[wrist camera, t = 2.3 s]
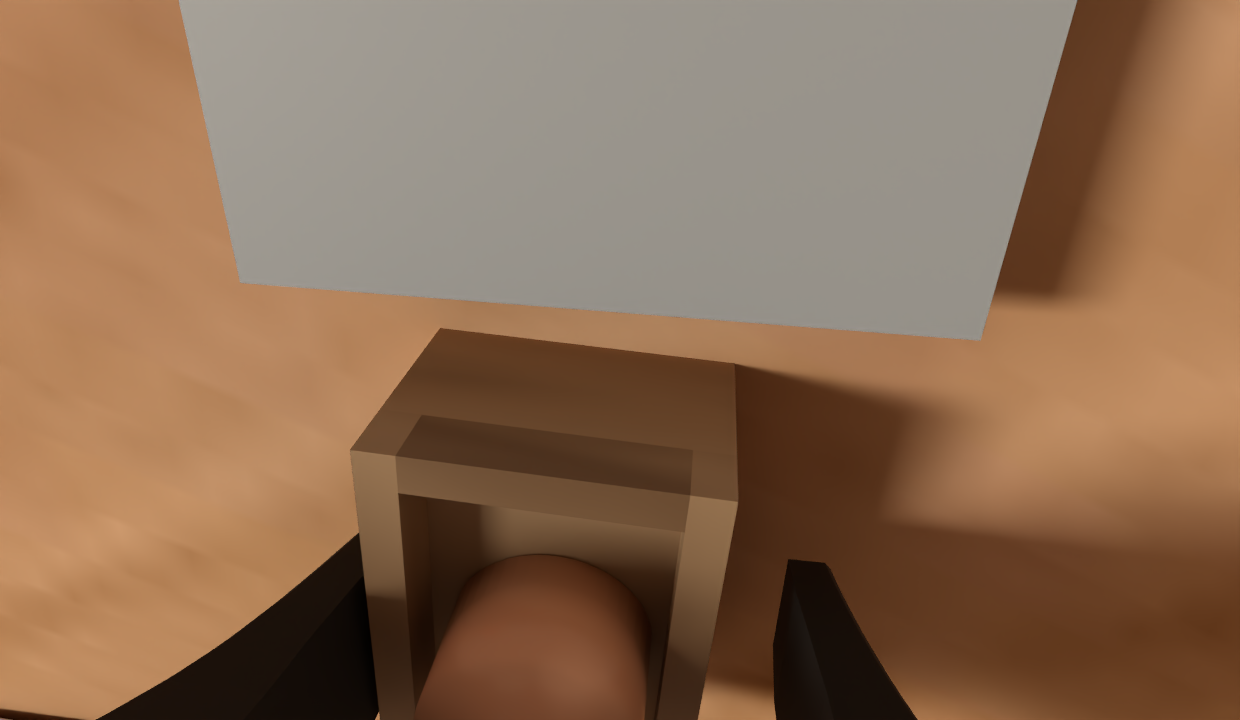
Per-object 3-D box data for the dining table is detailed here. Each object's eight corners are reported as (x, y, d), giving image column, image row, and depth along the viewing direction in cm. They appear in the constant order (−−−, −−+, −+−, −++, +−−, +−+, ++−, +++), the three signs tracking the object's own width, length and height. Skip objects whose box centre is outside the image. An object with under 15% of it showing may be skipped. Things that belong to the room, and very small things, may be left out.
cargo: (638, 709, 13) (627, 827, 12) (454, 678, 13) (415, 790, 12) (665, 573, 12) (656, 687, 10) (455, 539, 12) (411, 645, 10)
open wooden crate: (683, 659, 17) (673, 848, 13) (457, 625, 17) (389, 801, 14) (734, 353, 13) (738, 502, 10) (446, 319, 14) (349, 450, 10)
